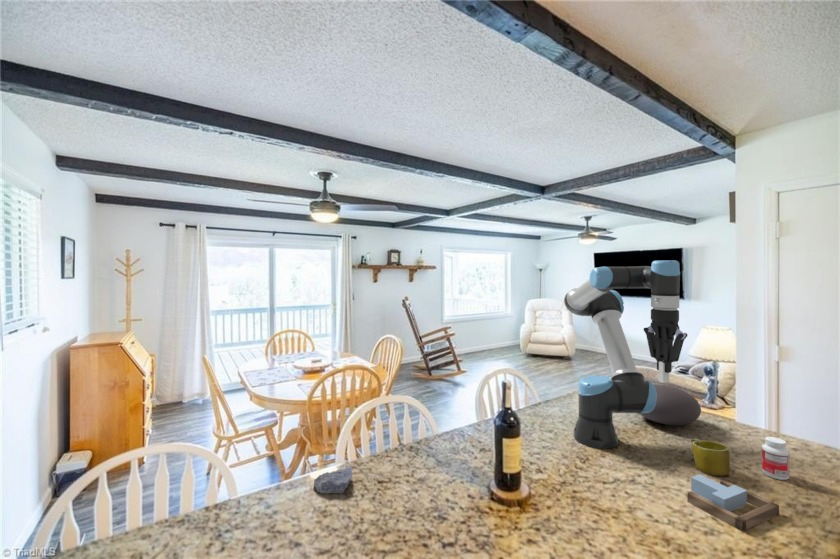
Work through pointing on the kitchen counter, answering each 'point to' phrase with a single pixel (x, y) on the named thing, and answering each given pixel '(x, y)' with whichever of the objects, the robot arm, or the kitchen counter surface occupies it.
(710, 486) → the blue t-shaped block
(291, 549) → the kitchen counter surface
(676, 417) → the smooth stone
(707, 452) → the mug
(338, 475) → the rock
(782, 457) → the pill bottle
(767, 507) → the bay
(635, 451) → the kitchen counter surface
